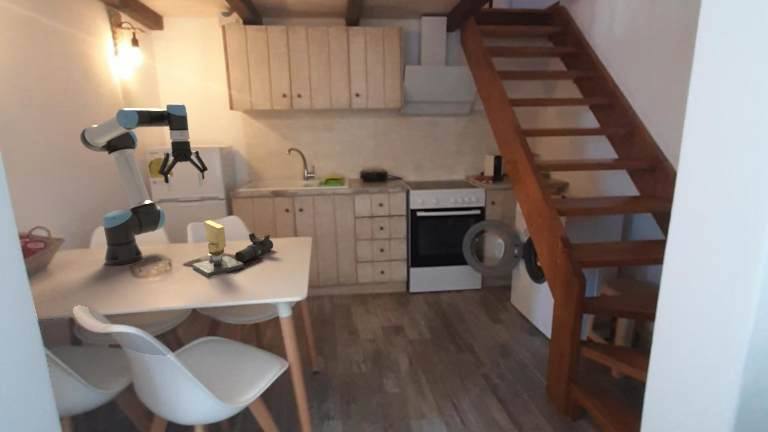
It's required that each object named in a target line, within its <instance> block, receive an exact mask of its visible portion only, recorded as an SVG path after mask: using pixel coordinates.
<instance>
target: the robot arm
mask: <svg viewBox="0 0 768 432" xmlns="http://www.w3.org/2000/svg"><path fill="white" fill-rule="evenodd" d="M164 127H168V130H169V139H170V140H171V142H170V144H171V145H170V146H171V152H164V154H163V155H164V157H163V160H162V162H161V163H162V164H161V165H160V167H159V170H158V175H161V176H162V177H163V180H164V183H165V184H167V185H166V186H167V190H168V191H169V192H172V191H173V188H172V180H171V175H170V173H171V172H172V171H173V169H174V167H175V166H176V165H177V163H184V162H185V163H187V162H188V163H190V164H191V165H192V166H193V167H194V168H195V169H196V170H197V171H198V172H197V178H198V186H199V187H201V188H204V181H203V180H205V172H207V171H208V170H209V168H208V167H207V165H206V164H205V162H204V161H203V159H202V157H201V156H200V152H199V151H198V150H194V151H192V148H191V141H190V131H189V123H188V113H187V109H186V105H185V104H183V103H167V104H166V108H161V109H160V108H129V107H127V108H120V109H118V110H117V112H116V114H115V116H114V117H111V118H109V119H107V120H106V121H103V122H100V123H99V124H97V125H96V124H95V125H89V126H87V127H85V128H83V129H82V131H81V132H80V136H79V139H80V140H79V141H80V142H81V144H82V145H83V147H84V148H86V149H88V150H90V151H93V152H99V153H102V152H107V154H108V157H110V158H111V159H113V160H114V163H115V165H116V167H117V172H118V173H119V176H120V179H121V181H122V184H123V186H124V189H125V191H126V195H127V197H128V201H129V203H130V206H129V208H128V209H120V210H114V211H111V212H109V213H107V214H105V215H103V218H102V224H103V225H102V226H103V229H104V235H105V240H106V246H107V247H106V251H105V256H104V262H105V264H106V265H108V266H122V265H123V266H124V265H129V264H132V263H135V261H136V262H138V261H140V260H142V259H143V252H142V251H141V249H140V247H139V246H138V244H137V241H136V236H139V235H144V234H147V233H151V232H152V233H153V232H155V231H158V230H161V229H162V228H163V227H164V225H165V223H166V215H165V212H164V210H163V208H162V207H161V206H159V205H156V202H155V201H153V200H151V198H150V196H149V192H148V190H147V188H146V185H145V183H144V180H143V176H142V174H141V171H140V169H139V166H138V163H137V161H136V158H135V156H134V155H135V153H136V149H137V147H138V142H139V141H138V138H137V136H136V133H135V131H133V130H135V129H137V128H164ZM192 156H194V158H195V159H196V161H197V162H198V163H197V162H196V161H195V160H194V159H193V158H192ZM171 157H172V160H171V162H170V163H169V160H170V158H171ZM168 163H169V165H168Z"/></svg>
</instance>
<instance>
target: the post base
mask: <svg viewBox="0 0 768 432" xmlns="http://www.w3.org/2000/svg"><path fill="white" fill-rule="evenodd" d="M207 258H208V260H204V261H200V262H195V263H192V268H193V270H195V271H197V272H198V273H200V274H202V275H203V276H205V277H207V278H210V277H215V276H218V275H222V274H226V273H230V272H233V271H237V270H241V269H244V267H245V266H244V262H243V263H241V262H239V261H237V260H236V259H235V258H233V257H231V256H228V255H224V256H223V253H222V254H218V255H211V254H209V253H208V254H207Z"/></svg>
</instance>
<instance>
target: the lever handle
mask: <svg viewBox="0 0 768 432" xmlns="http://www.w3.org/2000/svg"><path fill="white" fill-rule="evenodd" d="M203 225H204V234H205V241H206V242H207V243H208V244H207V247H208V254H211V255H218V254H222V255H223V254H224V253H225V248H227V243H226V233H225V226H224V225H221V224H218V223H217V222H214V221H212V220H204V221H203Z"/></svg>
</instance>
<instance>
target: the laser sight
mask: <svg viewBox="0 0 768 432" xmlns="http://www.w3.org/2000/svg"><path fill="white" fill-rule="evenodd" d="M248 236H249V237H248V238H249V240H250V242H251V243H252V244H249V245H247V246H246V247H245V248H244V249H243V248H242V249H241V250H239V251H236V252H235V254H234V257H235V258H234V259H235V260H237V261H239V262H241V263H243V264H244V263H245V262H247V261H249V260H251V259H253V258H254V259H256V258H258V257H261V256H262V255H264V254H266V253H268V252H269V251H271V250H273V248H274V243H273V241H272V240H271V239H270V236H271V235H270V234H266V235H264V236H263V237H264V238H263V239H262V238H259V237H257V236H256V235H255V232H252V233H249V234H248Z"/></svg>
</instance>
